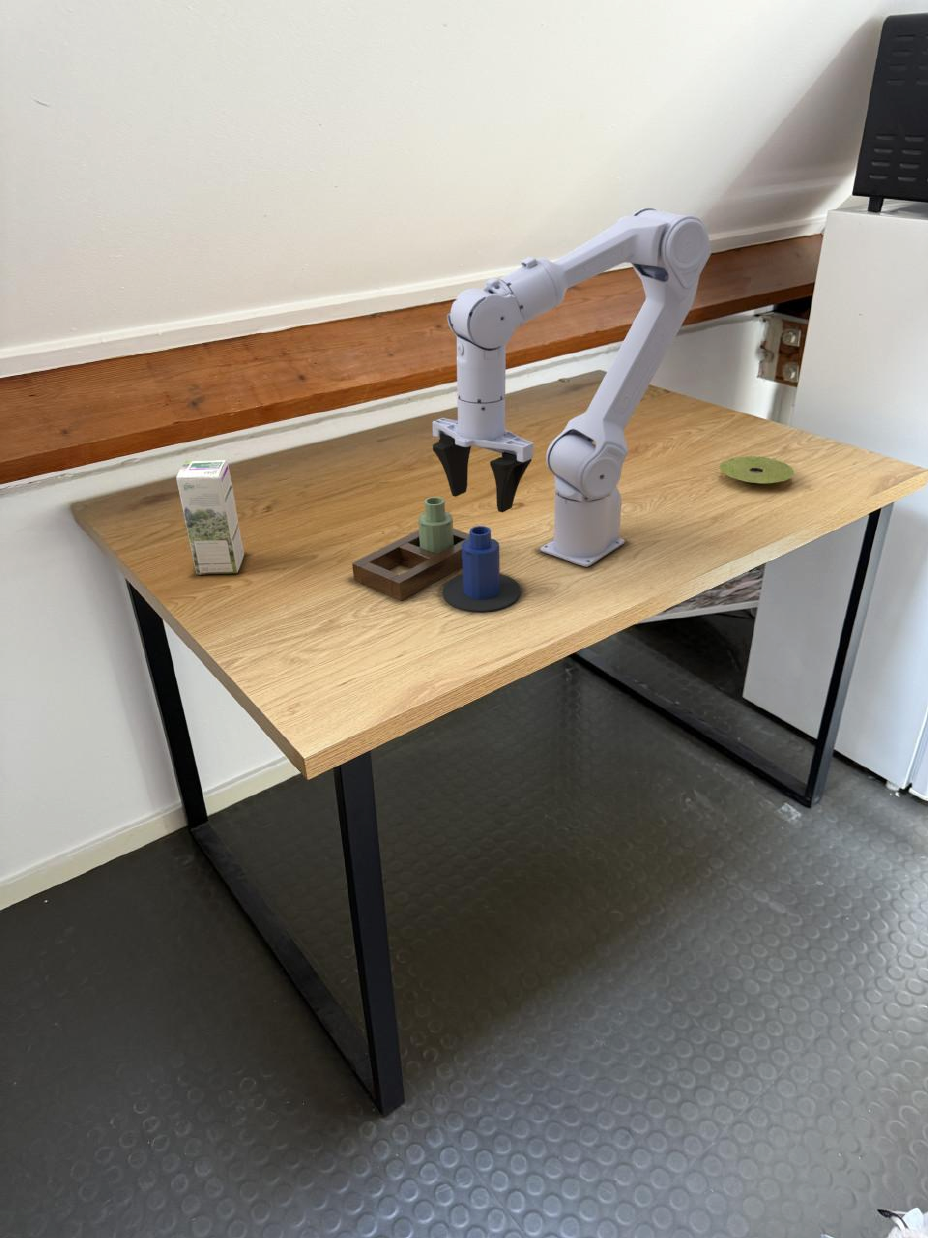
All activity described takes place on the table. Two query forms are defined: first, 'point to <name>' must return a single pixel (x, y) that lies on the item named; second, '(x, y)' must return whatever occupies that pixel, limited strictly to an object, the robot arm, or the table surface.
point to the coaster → (503, 599)
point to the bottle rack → (408, 553)
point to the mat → (756, 469)
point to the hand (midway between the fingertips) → (481, 501)
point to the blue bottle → (481, 564)
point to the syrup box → (210, 516)
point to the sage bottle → (435, 526)
